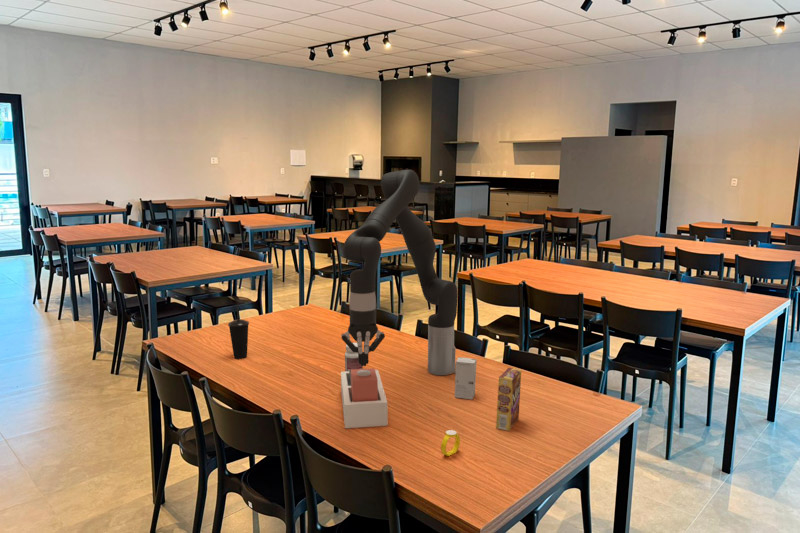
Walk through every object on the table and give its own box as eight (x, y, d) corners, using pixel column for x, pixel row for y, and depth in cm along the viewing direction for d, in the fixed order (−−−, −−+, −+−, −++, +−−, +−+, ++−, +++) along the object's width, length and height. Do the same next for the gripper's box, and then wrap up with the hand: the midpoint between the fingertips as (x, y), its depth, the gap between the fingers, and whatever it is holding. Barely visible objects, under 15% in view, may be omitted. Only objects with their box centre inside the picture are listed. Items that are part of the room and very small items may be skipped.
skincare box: (454, 397, 179) (454, 361, 177) (457, 392, 183) (457, 356, 181) (473, 400, 177) (474, 363, 175) (476, 394, 181) (476, 358, 179)
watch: (453, 449, 147) (454, 427, 147) (461, 452, 145) (463, 430, 145) (438, 455, 143) (439, 433, 142) (446, 459, 141) (448, 437, 140)
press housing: (378, 390, 185) (377, 369, 184) (387, 425, 160) (387, 402, 159) (341, 392, 184) (340, 371, 182) (345, 428, 158) (344, 404, 157)
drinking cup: (225, 359, 215) (222, 308, 212) (238, 353, 222) (235, 303, 219) (242, 361, 213) (239, 310, 209) (254, 355, 220) (252, 305, 216)
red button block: (374, 390, 170) (374, 366, 168) (377, 402, 161) (377, 377, 160) (351, 391, 169) (350, 367, 167) (353, 404, 160) (352, 378, 159)
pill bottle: (366, 376, 197) (365, 345, 195) (350, 380, 194) (349, 348, 192) (357, 371, 202) (356, 341, 200) (342, 374, 199) (341, 344, 197)
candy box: (510, 432, 156) (512, 379, 153) (495, 428, 158) (497, 376, 155) (520, 419, 164) (521, 369, 161) (505, 416, 166) (507, 366, 163)
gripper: (384, 303, 165) (384, 359, 168) (338, 304, 163) (339, 361, 166) (387, 309, 157) (387, 368, 160) (339, 310, 156) (340, 370, 159)
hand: (363, 365), depth 163 cm, fingers closed
